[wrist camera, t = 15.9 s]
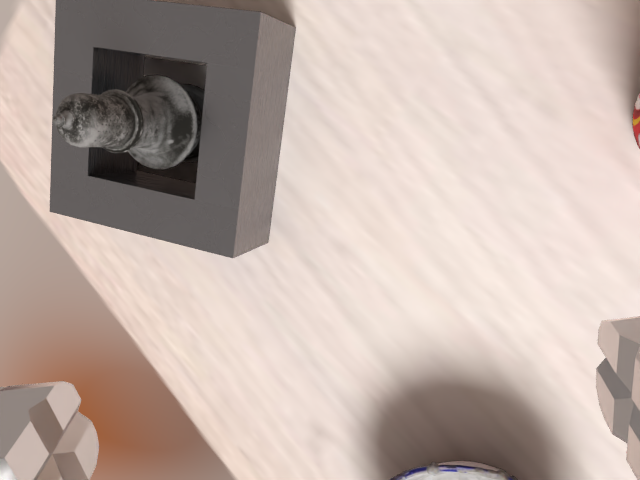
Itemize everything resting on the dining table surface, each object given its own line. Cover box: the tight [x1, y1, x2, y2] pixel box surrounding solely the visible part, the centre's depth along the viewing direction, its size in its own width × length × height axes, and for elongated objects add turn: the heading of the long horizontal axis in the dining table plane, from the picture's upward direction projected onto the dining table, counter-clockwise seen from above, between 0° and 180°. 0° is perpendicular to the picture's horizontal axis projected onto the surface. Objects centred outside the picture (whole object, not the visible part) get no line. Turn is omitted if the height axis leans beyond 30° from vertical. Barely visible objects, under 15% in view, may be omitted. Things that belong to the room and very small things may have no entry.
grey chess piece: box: [53, 75, 205, 169], centre depth 33 cm, size 6×6×12 cm
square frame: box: [50, 0, 296, 258], centre depth 36 cm, size 14×14×5 cm
